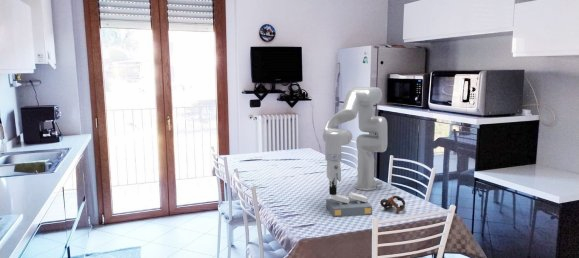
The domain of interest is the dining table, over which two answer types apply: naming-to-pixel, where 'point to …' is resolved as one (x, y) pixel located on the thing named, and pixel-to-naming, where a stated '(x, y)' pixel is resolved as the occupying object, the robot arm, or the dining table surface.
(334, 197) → the rocker
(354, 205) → the switch unit
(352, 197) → the rocker
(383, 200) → the brown looped piece
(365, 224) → the dining table surface
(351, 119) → the robot arm
